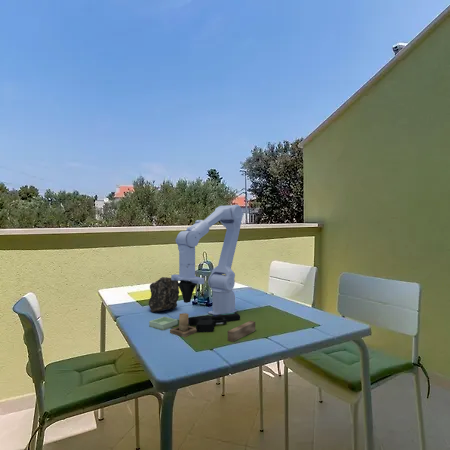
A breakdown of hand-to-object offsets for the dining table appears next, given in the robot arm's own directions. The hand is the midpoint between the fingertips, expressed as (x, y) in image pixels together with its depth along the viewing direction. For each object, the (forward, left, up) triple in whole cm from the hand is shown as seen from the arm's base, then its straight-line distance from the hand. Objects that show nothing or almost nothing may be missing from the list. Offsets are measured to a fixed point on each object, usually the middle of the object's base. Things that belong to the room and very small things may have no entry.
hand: (187, 302), depth 113 cm
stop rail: (-2, +23, -8) cm, 24 cm away
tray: (+7, -5, -8) cm, 12 cm away
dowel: (+7, +5, -8) cm, 12 cm away
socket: (+7, +6, -8) cm, 12 cm away
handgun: (-5, +10, -8) cm, 14 cm away
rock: (-8, -21, -8) cm, 24 cm away
